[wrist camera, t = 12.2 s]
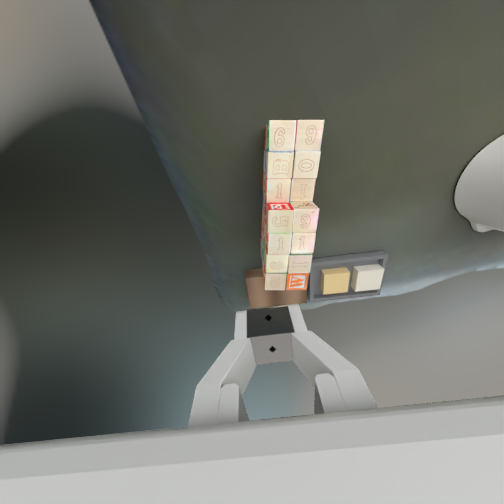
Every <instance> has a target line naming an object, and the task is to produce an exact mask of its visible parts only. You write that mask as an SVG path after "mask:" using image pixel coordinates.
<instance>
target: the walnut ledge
mask: <svg viewBox="0 0 504 504" xmlns="http://www.w3.org/2000/svg"><path fill="white" fill-rule="evenodd" d="M245 280H246V285H247V291H248V297H249V303H250V308H261V307H270V306H280V305H290V304H300V303H307V289H306V290H286V289H285V290H265V289H264V278H263V270H262V268H259V269H250V270H246V272H245Z"/></svg>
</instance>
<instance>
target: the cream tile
mask: <svg viewBox="0 0 504 504" xmlns="http://www.w3.org/2000/svg"><path fill="white" fill-rule="evenodd" d="M383 273H384V268H383V267H382V266H380V265H379V264H372V265H362V266H354V268H353V275H352V281H351V287H352V288H353V289H354V291H355V292H357V291H367V290H377V289H380V286H381V282H382V278H383Z"/></svg>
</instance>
